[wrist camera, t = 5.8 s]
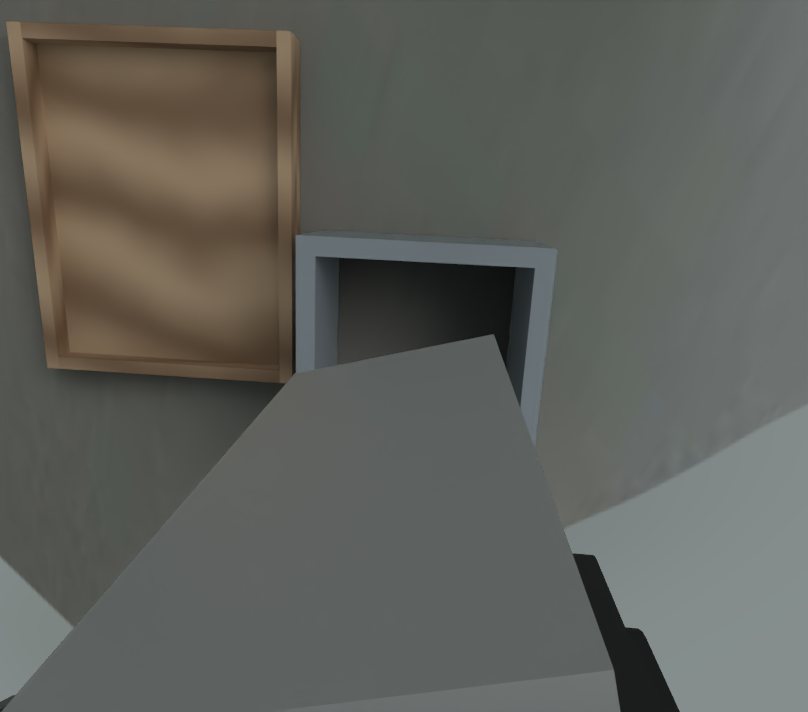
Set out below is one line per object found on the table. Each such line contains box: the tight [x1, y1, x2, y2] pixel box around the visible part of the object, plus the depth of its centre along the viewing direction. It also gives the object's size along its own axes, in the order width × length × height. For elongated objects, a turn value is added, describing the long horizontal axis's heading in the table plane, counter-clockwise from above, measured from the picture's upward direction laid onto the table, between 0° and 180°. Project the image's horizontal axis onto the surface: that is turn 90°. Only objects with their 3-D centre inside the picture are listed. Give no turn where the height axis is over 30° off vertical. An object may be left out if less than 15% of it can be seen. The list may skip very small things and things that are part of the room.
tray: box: [6, 21, 300, 383], centre depth 34 cm, size 20×16×2 cm
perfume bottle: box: [1, 334, 620, 712], centre depth 11 cm, size 7×7×18 cm
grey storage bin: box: [296, 230, 558, 448], centre depth 33 cm, size 13×13×7 cm
